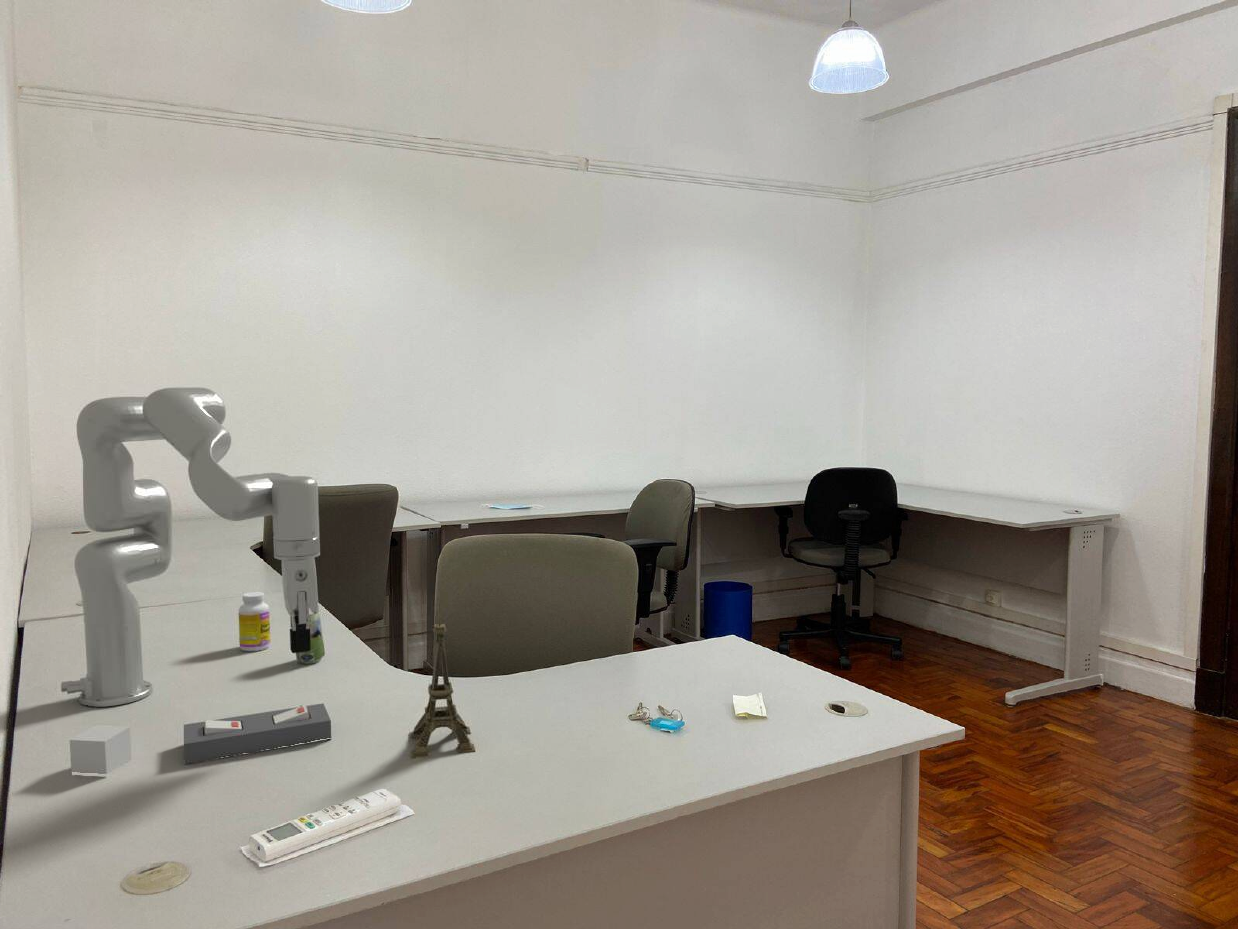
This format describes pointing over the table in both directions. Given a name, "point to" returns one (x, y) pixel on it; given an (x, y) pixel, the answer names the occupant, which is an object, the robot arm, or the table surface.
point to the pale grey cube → (100, 749)
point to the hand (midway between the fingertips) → (300, 650)
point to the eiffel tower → (440, 715)
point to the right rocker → (292, 715)
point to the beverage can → (313, 641)
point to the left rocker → (221, 726)
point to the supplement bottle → (254, 623)
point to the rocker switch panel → (255, 734)
